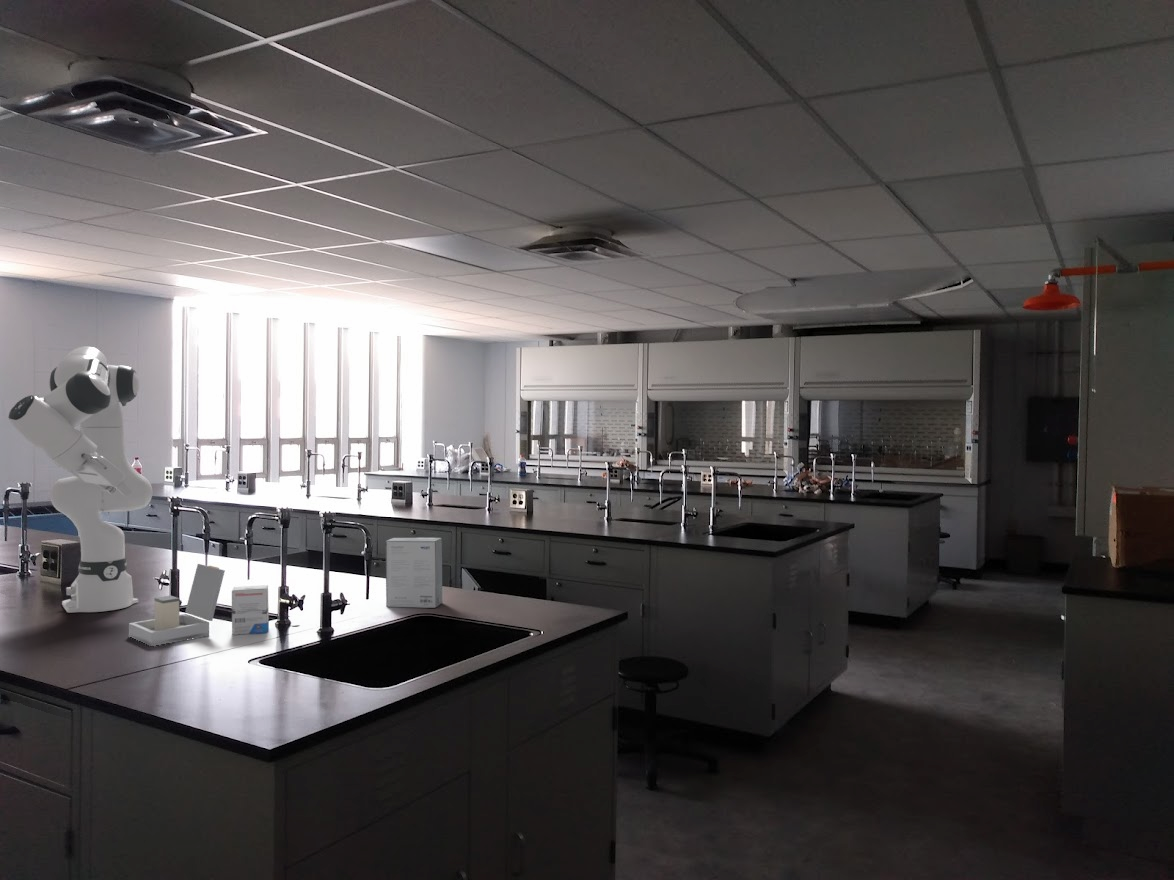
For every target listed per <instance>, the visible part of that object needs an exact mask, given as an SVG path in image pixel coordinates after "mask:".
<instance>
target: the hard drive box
mask: <svg viewBox="0 0 1174 880" xmlns="http://www.w3.org/2000/svg"><path fill="white" fill-rule="evenodd" d="M442 540H443V539H442V537H392V538H389V539H387V540H385V598H386V600H385V601H386V603H385V604H386V607H387V608H419V609H423V608H424V609H427V608H428V609H429V608H431V609H432V608H437V607H439V606H440V605H441V604H443V549H442V548H443V541H442Z"/></svg>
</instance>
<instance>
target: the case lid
mask: <svg viewBox="0 0 1174 880" xmlns="http://www.w3.org/2000/svg"><path fill="white" fill-rule="evenodd" d="M225 571H226V570H224V569H220V568H219V567H217V566H213V565H206V564H202V563H197V565H196V569H195V573H194V576H193V581H192V584H191V588H190V592H189V597H188V600H187V605H186V608H185V612H184V613H185V614H186V613H187V614H188V615H190V616H193V617H196V618H199V619H202V620H205V621H207V622H213V618H214V615H215V612H216V611H215V610H216V608H217V603H218V599H219V596H220V591H221V586H222V583H223V579H224V576H225Z"/></svg>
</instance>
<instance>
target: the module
mask: <svg viewBox="0 0 1174 880" xmlns="http://www.w3.org/2000/svg"><path fill="white" fill-rule="evenodd" d="M179 615H180V598H179V597H177V596H173V595H166V596H158V597H154V619H155V631H158V630H164V629H169V628H175V627H179Z"/></svg>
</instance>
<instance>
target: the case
mask: <svg viewBox="0 0 1174 880" xmlns="http://www.w3.org/2000/svg"><path fill="white" fill-rule="evenodd" d="M203 636H206V637H210V621H208V620H205V619H202V618H199V617H197V616H194V615H191V614H188V613H187V614H186V613H183V614H179V627H175V628H169V629H164V630H158V631H155V618H153V619H147V620H140V621H133V622H129V623H128V637H129V638H130V637H132V638H134V639H136V640H135V641H137V640H138V641H137V642H139V641H141V642H143V643H145V644H144V645H146V644H147V645H146V646H148V645H149V646H148V647H150V646H154V647H157V646H156V645H159V646H162V645H161V644H165V645H167V644H166V643H170V644H173V643H172V642H175V643H177V642H176V641H180V642H183V641H182V640H185V641H188V640H187V639H191V640H193V639H192V638H196V639H198V638H197V637H201V638H204V637H203ZM132 638H131V639H132ZM134 639H133V640H134ZM141 642H140V643H141ZM143 643H142V644H143Z"/></svg>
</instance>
